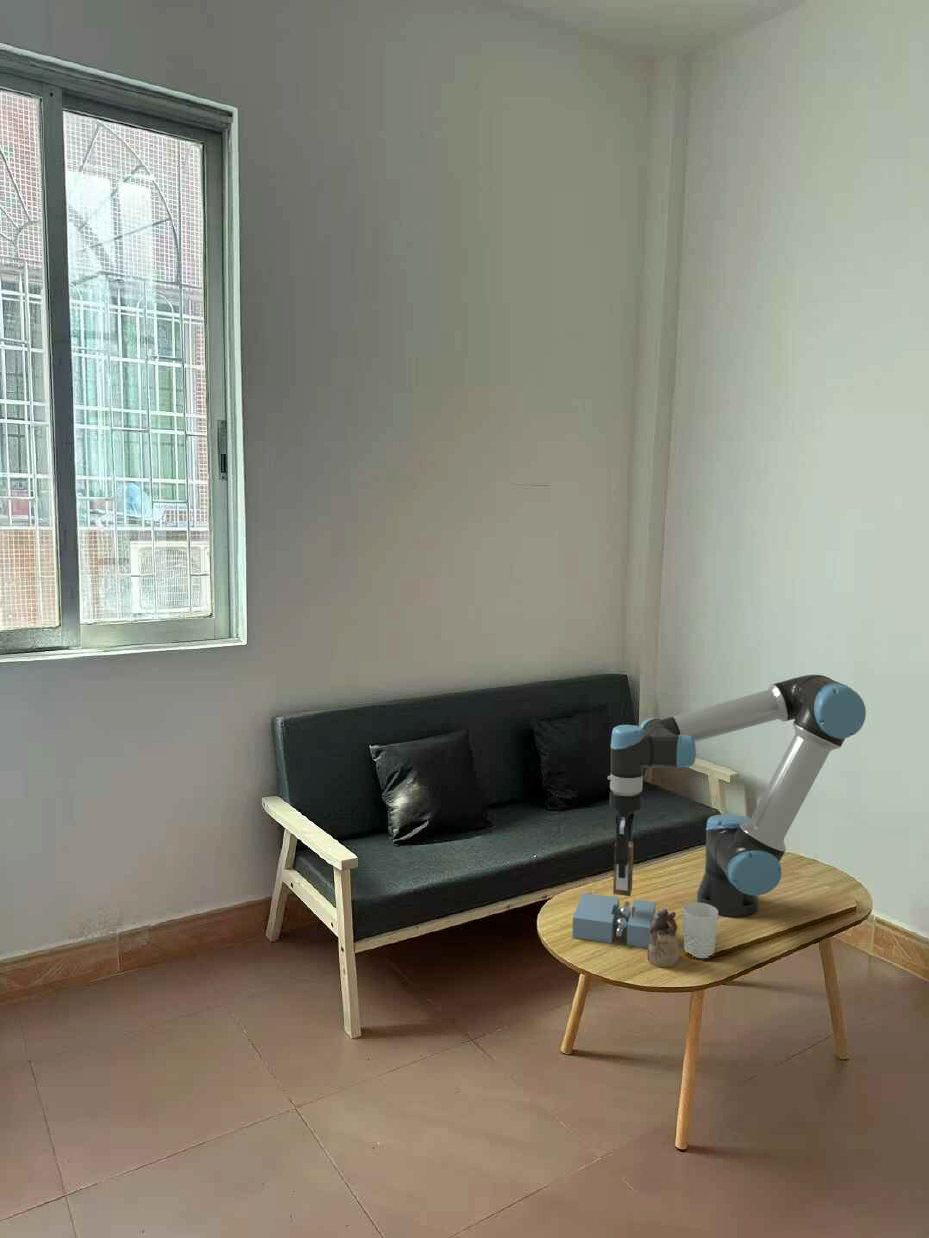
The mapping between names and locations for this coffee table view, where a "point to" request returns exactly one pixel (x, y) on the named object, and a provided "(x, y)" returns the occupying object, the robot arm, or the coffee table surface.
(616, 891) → the peg
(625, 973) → the coffee table surface
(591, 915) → the socket board
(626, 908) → the plunger
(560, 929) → the coffee table surface
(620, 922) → the plunger
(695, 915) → the white cup
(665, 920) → the figurine
